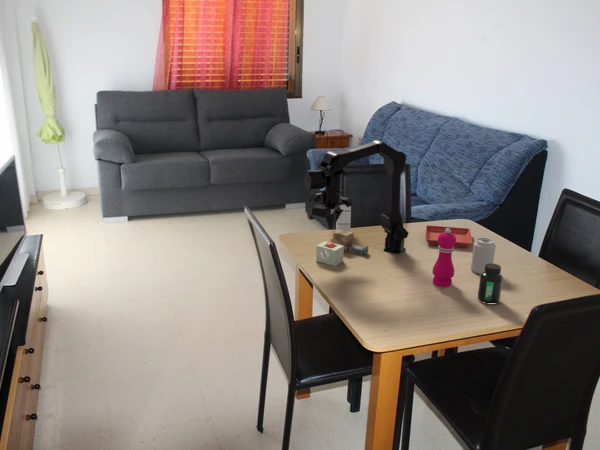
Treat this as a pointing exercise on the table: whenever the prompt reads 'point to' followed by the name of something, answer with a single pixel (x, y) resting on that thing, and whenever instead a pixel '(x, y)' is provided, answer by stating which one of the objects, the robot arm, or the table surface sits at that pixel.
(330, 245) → the gauge button
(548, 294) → the table surface
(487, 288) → the supplement bottle
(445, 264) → the pepper mill
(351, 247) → the rail
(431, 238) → the plant saucer
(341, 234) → the block
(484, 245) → the can
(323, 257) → the cabinet
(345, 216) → the syrup box
